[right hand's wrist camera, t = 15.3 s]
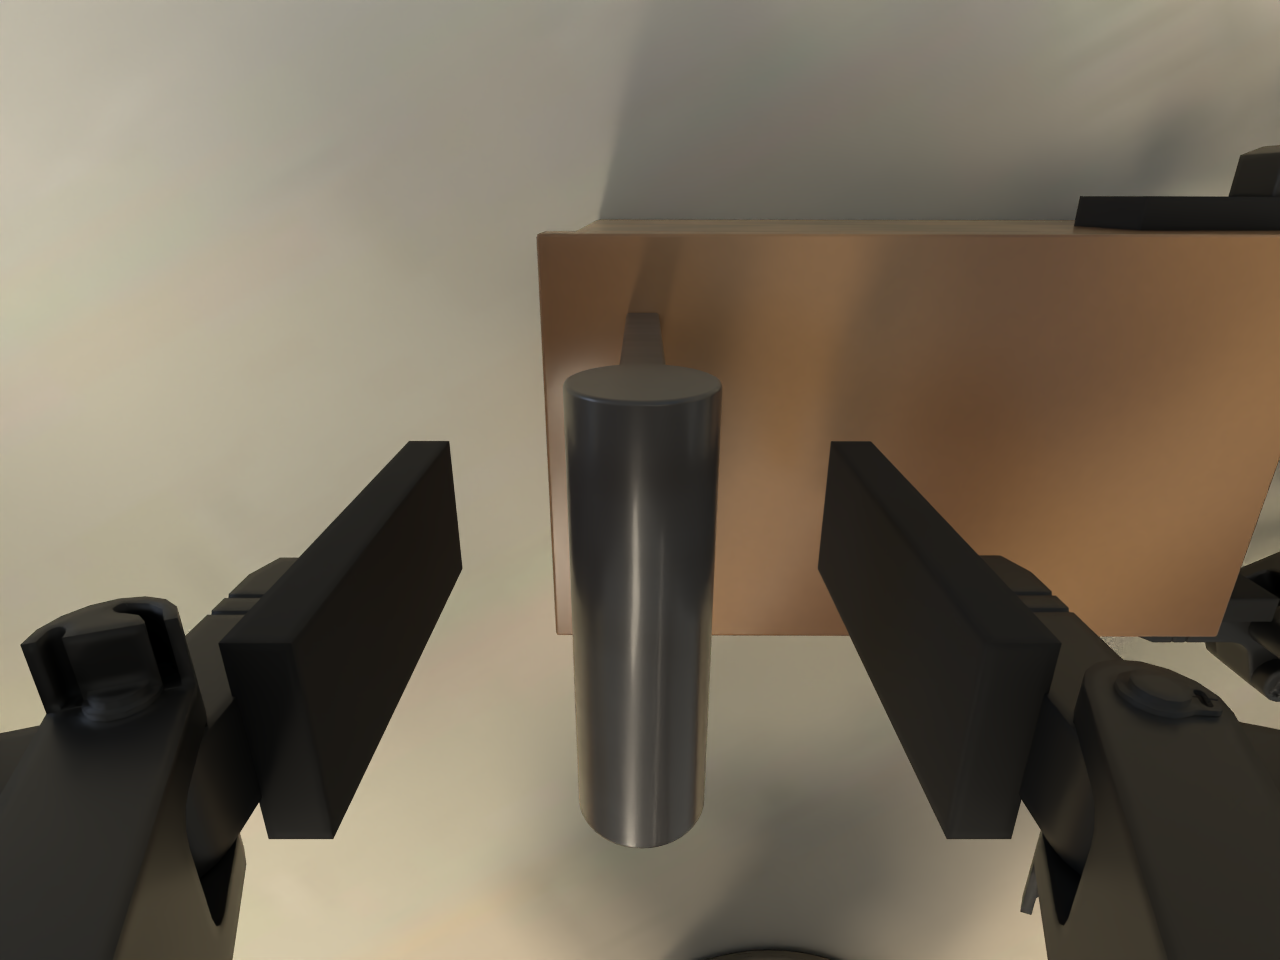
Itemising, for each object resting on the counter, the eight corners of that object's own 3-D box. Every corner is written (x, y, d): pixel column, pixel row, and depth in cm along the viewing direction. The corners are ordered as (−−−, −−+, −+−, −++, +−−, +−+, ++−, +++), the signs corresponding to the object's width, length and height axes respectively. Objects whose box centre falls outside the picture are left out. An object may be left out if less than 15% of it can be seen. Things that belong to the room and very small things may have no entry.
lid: (560, 614, 19) (500, 918, 11) (542, 231, 16) (435, 267, 8) (1189, 616, 19) (1588, 921, 11) (1317, 232, 16) (2044, 271, 8)
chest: (602, 490, 27) (586, 613, 19) (597, 219, 24) (574, 231, 16) (1026, 491, 27) (1188, 615, 19) (1085, 219, 24) (1315, 232, 16)
